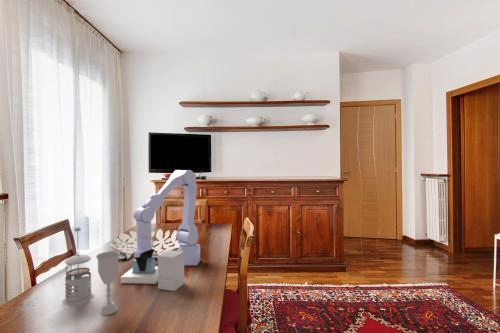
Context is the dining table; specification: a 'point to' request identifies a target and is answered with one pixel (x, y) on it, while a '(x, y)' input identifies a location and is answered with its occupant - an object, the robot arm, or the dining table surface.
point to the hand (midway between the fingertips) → (144, 269)
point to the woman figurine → (123, 256)
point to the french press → (77, 280)
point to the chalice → (108, 277)
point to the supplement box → (170, 270)
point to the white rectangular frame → (140, 277)
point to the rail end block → (149, 267)
